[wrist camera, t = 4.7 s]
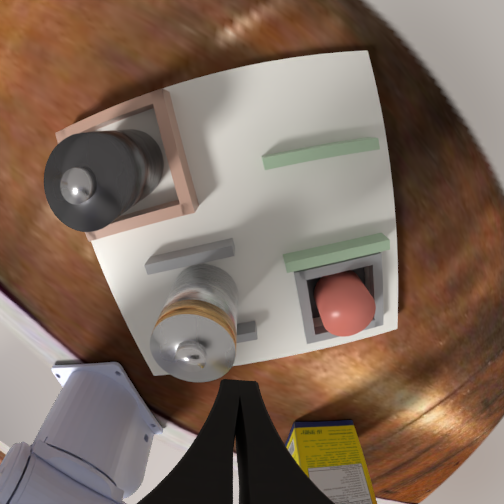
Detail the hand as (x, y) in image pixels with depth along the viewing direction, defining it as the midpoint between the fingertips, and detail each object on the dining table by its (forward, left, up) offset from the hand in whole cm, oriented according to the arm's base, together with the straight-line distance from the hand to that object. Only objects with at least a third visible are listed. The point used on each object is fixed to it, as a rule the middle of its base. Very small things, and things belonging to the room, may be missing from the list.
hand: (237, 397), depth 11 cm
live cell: (+1, +2, -8) cm, 8 cm away
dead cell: (+9, +4, -8) cm, 13 cm away
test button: (-1, -6, -8) cm, 10 cm away
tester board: (+4, -1, -9) cm, 10 cm away
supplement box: (-18, -3, -9) cm, 21 cm away
